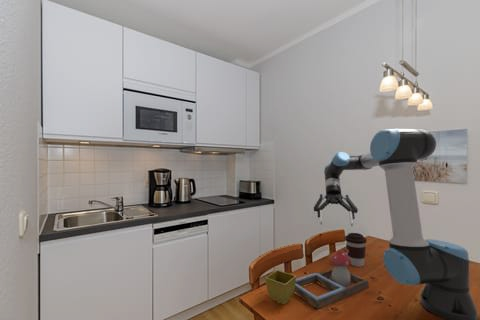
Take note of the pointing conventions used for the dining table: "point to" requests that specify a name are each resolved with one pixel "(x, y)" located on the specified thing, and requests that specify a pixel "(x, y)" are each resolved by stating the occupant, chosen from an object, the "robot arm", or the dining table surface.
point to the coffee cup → (356, 248)
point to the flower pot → (280, 286)
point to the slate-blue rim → (323, 294)
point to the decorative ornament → (341, 268)
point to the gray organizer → (331, 288)
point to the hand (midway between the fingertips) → (336, 223)
